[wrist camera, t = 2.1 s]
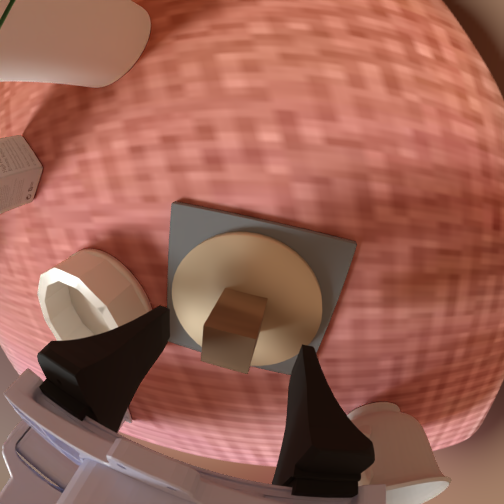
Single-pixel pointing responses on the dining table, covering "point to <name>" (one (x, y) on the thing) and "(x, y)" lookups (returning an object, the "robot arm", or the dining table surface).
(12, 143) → the skincare box
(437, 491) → the teacup
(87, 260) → the bowl
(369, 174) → the dining table surface
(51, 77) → the cylindrical container
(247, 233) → the lid
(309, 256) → the mat
